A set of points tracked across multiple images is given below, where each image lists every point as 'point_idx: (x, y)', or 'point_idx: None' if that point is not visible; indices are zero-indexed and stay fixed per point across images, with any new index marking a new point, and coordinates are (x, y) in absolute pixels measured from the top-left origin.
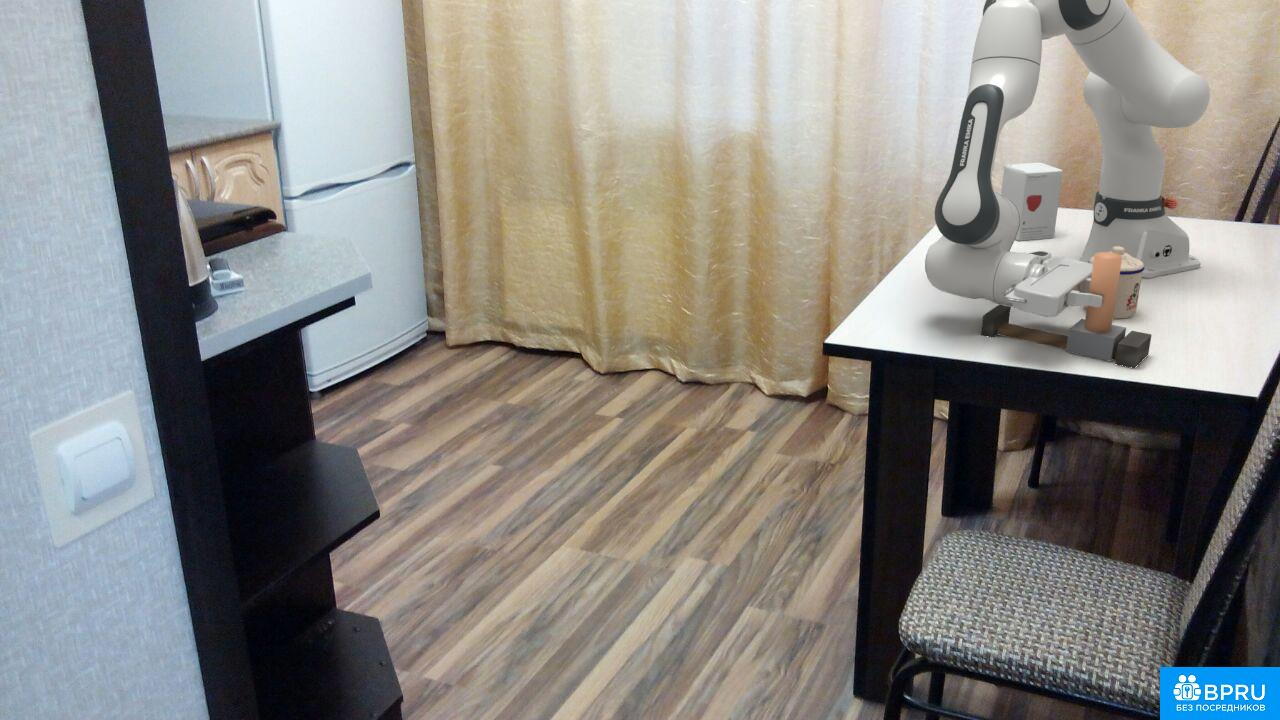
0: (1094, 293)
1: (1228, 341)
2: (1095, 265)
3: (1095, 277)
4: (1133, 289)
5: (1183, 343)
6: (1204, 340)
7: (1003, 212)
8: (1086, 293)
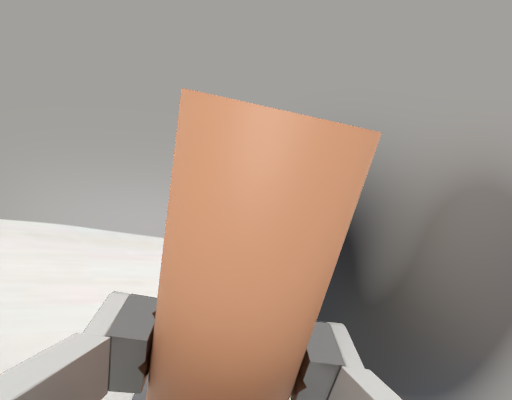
0: (322, 352)
1: (18, 253)
2: (353, 208)
3: (328, 282)
4: None
5: (37, 306)
6: (11, 278)
7: None
8: (370, 390)
